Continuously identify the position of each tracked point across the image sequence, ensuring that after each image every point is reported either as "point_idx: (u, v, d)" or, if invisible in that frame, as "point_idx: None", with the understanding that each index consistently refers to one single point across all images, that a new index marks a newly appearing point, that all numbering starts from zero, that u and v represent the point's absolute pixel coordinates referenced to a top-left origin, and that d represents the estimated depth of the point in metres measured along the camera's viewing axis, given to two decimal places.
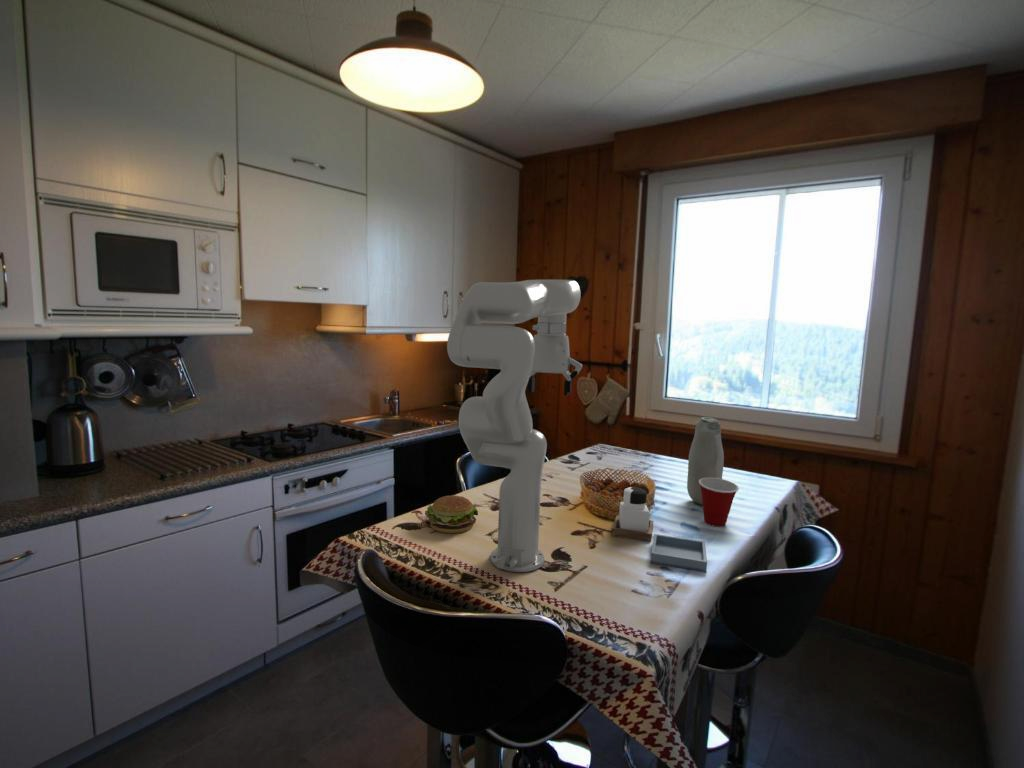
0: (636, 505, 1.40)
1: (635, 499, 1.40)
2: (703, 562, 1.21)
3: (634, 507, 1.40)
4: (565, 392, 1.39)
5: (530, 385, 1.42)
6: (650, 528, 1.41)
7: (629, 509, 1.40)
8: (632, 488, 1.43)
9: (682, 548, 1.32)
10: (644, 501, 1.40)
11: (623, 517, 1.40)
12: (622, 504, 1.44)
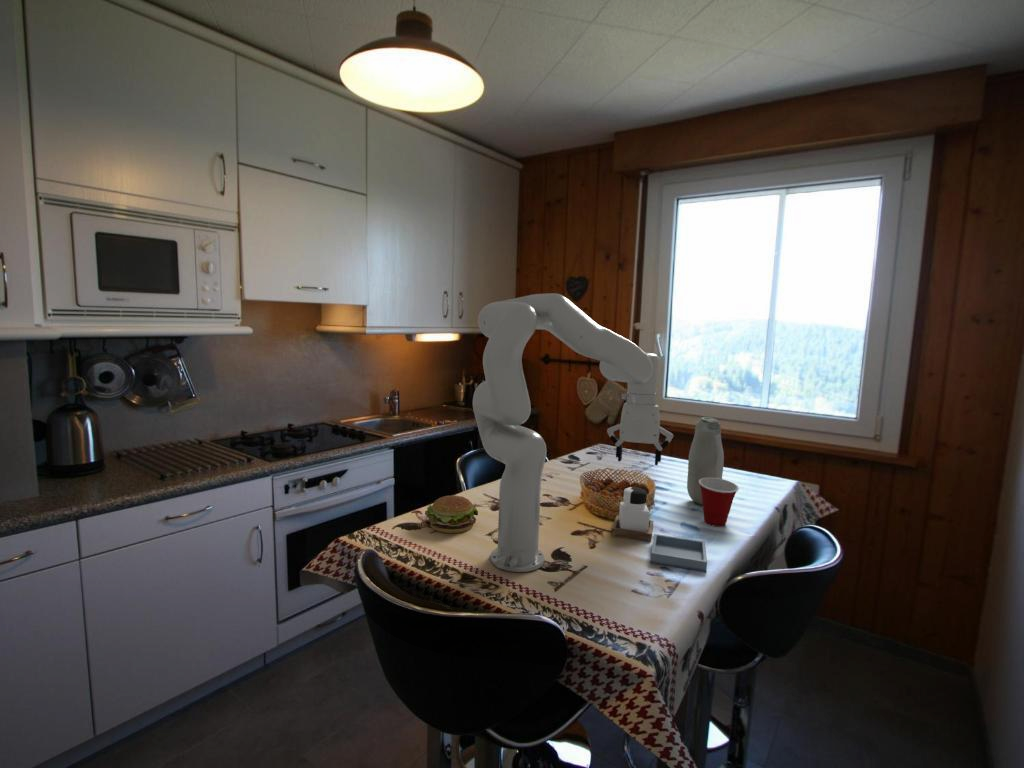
0: (636, 505, 1.40)
1: (635, 499, 1.40)
2: (703, 562, 1.21)
3: (634, 507, 1.40)
4: (656, 462, 1.39)
5: (619, 454, 1.41)
6: (650, 528, 1.41)
7: (629, 509, 1.40)
8: (632, 488, 1.43)
9: (682, 548, 1.32)
10: (644, 501, 1.40)
11: (623, 517, 1.40)
12: (622, 504, 1.44)
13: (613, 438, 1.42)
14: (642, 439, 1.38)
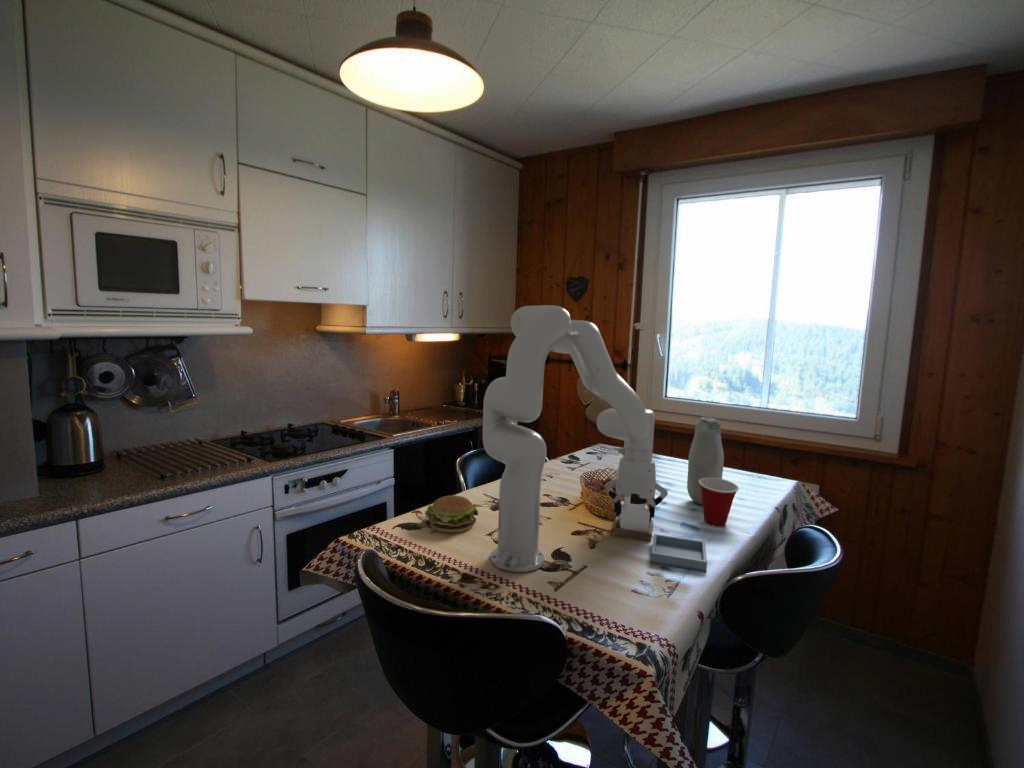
0: (636, 505, 1.40)
1: (635, 499, 1.40)
2: (703, 562, 1.21)
3: (634, 507, 1.40)
4: (650, 518, 1.40)
5: (617, 509, 1.43)
6: (650, 528, 1.41)
7: (629, 509, 1.40)
8: None
9: (682, 548, 1.32)
10: (644, 501, 1.40)
11: (623, 517, 1.40)
12: (622, 504, 1.44)
13: (611, 493, 1.44)
14: (638, 494, 1.39)
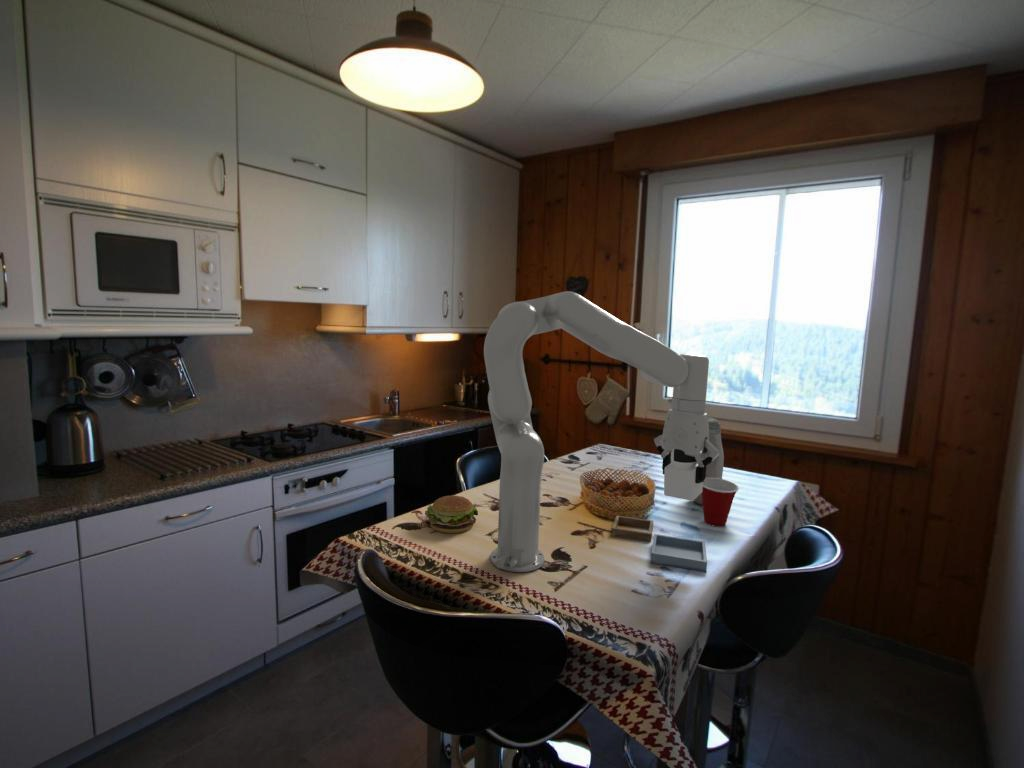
0: (679, 463, 1.24)
1: (678, 456, 1.24)
2: (703, 562, 1.21)
3: (678, 465, 1.24)
4: (696, 479, 1.22)
5: (664, 466, 1.29)
6: (650, 528, 1.41)
7: (672, 467, 1.25)
8: None
9: (682, 548, 1.32)
10: (690, 460, 1.23)
11: (665, 475, 1.26)
12: (672, 462, 1.29)
13: (660, 448, 1.30)
14: (683, 450, 1.23)
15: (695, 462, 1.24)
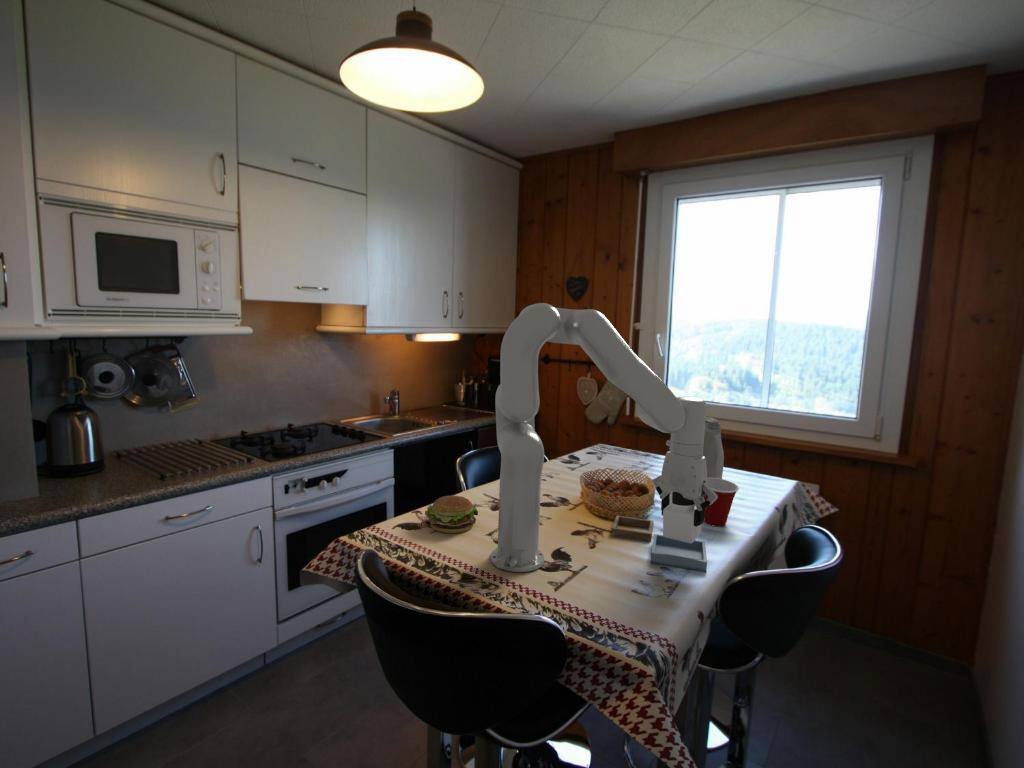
0: (678, 506, 1.25)
1: (676, 499, 1.25)
2: (703, 562, 1.21)
3: (676, 508, 1.25)
4: (694, 522, 1.23)
5: (663, 507, 1.29)
6: (650, 528, 1.41)
7: (671, 509, 1.26)
8: None
9: (682, 548, 1.32)
10: (689, 503, 1.24)
11: (664, 517, 1.27)
12: None
13: (659, 489, 1.31)
14: (681, 493, 1.24)
15: (693, 505, 1.25)
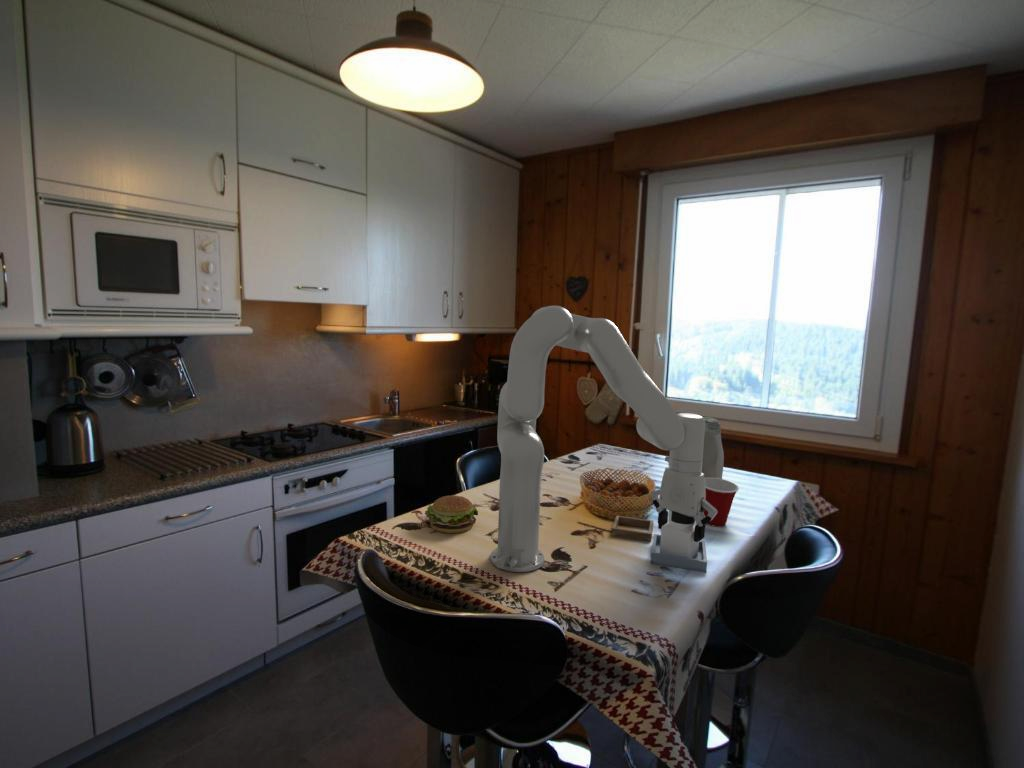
0: (676, 523, 1.25)
1: (675, 517, 1.26)
2: (703, 562, 1.21)
3: (675, 526, 1.26)
4: (695, 538, 1.23)
5: (659, 521, 1.30)
6: (650, 528, 1.41)
7: (669, 527, 1.27)
8: None
9: None
10: (687, 521, 1.25)
11: (662, 534, 1.27)
12: None
13: (655, 503, 1.32)
14: (679, 509, 1.25)
15: (692, 524, 1.26)
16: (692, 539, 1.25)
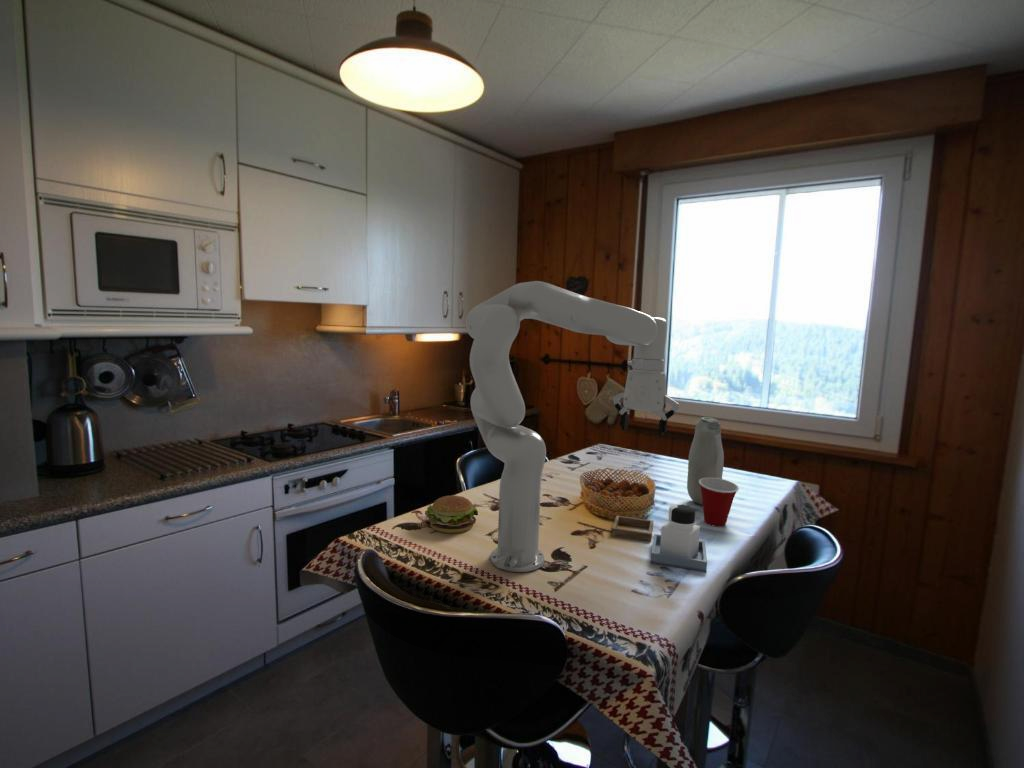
0: (676, 523, 1.26)
1: (675, 517, 1.26)
2: (703, 562, 1.21)
3: (675, 526, 1.26)
4: (660, 432, 1.32)
5: (623, 422, 1.37)
6: (650, 528, 1.41)
7: (669, 527, 1.27)
8: (679, 505, 1.28)
9: None
10: (687, 521, 1.25)
11: (662, 534, 1.28)
12: None
13: (618, 406, 1.38)
14: (645, 407, 1.32)
15: (692, 524, 1.26)
16: (692, 539, 1.25)
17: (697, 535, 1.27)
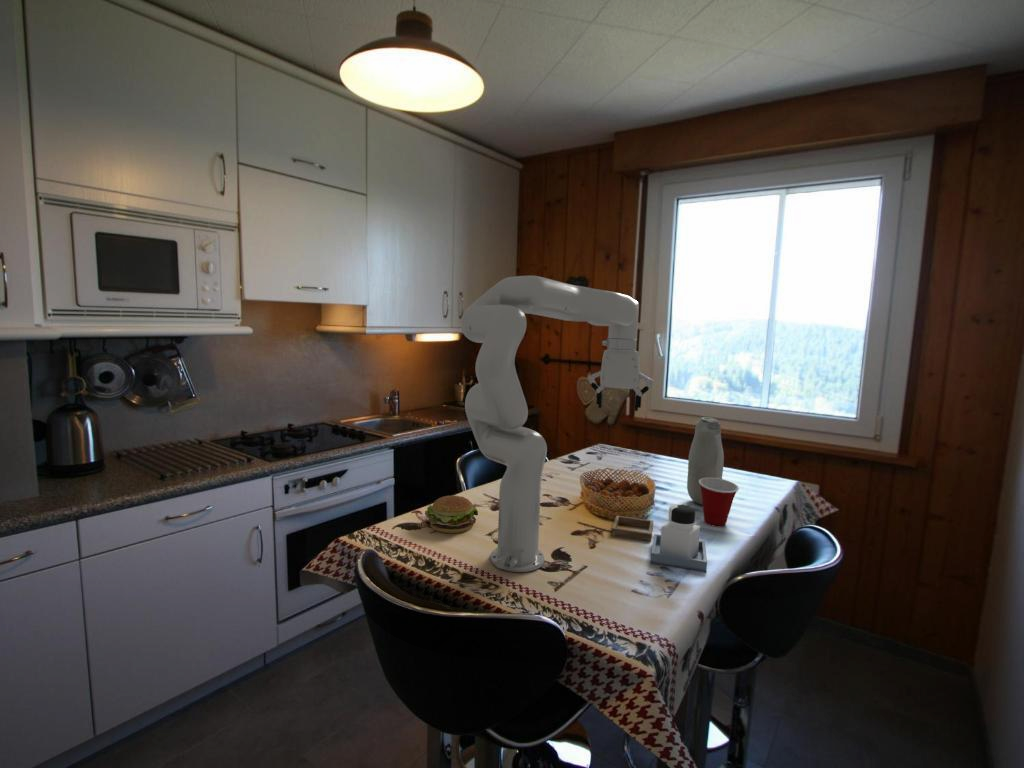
0: (676, 523, 1.26)
1: (675, 517, 1.26)
2: (703, 562, 1.21)
3: (675, 526, 1.26)
4: (636, 407, 1.40)
5: (600, 400, 1.42)
6: (650, 528, 1.41)
7: (669, 527, 1.27)
8: (679, 505, 1.28)
9: None
10: (687, 521, 1.25)
11: (662, 534, 1.28)
12: None
13: (594, 385, 1.43)
14: (622, 384, 1.39)
15: (692, 524, 1.26)
16: (692, 539, 1.25)
17: (697, 535, 1.27)
